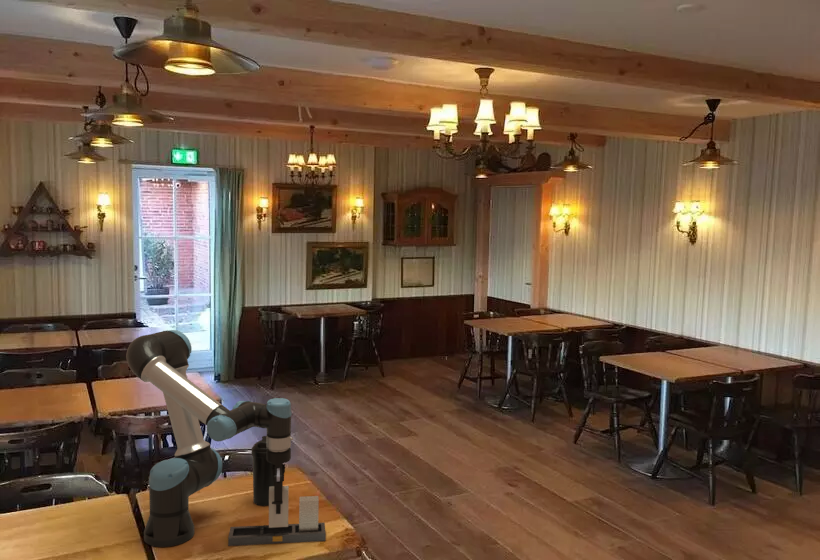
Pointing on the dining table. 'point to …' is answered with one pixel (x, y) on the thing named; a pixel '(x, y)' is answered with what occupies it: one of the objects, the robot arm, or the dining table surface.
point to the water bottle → (261, 473)
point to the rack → (284, 528)
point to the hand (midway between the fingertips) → (278, 519)
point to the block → (285, 507)
